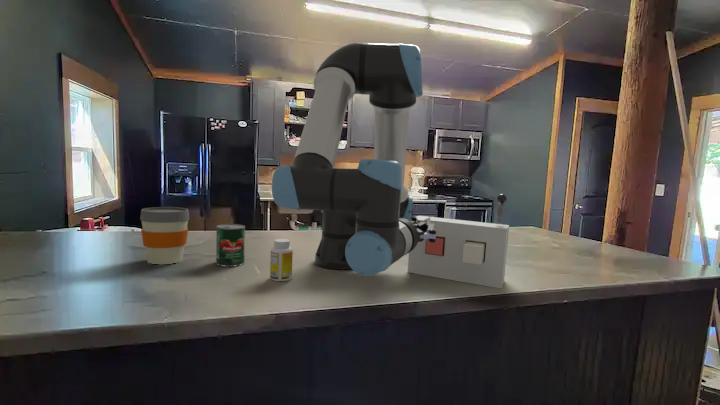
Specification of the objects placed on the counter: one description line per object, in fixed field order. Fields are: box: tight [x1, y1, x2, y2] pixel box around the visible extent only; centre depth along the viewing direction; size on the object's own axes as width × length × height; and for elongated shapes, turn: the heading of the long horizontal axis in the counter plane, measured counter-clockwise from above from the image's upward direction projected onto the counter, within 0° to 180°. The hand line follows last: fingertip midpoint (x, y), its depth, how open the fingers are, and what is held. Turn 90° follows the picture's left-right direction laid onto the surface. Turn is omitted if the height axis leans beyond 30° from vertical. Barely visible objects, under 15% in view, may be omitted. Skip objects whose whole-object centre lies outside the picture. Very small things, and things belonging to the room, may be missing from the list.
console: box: [407, 215, 510, 289], centre depth 110 cm, size 26×8×16 cm, turn 65°
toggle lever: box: [495, 193, 508, 224], centre depth 107 cm, size 3×3×9 cm
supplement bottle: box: [269, 238, 294, 282], centre depth 100 cm, size 6×6×10 cm
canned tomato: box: [215, 223, 246, 267], centre depth 112 cm, size 8×8×11 cm
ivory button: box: [462, 241, 485, 265], centre depth 103 cm, size 5×6×5 cm
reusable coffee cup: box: [139, 206, 190, 265], centre depth 111 cm, size 13×13×15 cm
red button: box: [426, 236, 445, 255], centre depth 111 cm, size 5×6×5 cm
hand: (426, 221), depth 98 cm, fingers closed
